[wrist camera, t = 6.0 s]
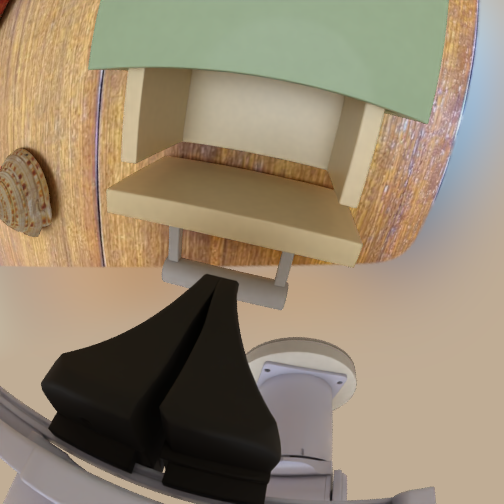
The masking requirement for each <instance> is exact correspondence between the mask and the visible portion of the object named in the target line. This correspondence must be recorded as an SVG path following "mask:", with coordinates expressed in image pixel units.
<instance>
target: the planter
mask: <svg viewBox="0 0 504 504" xmlns="http://www.w3.org/2000/svg"><path fill="white" fill-rule="evenodd" d="M8 2H9V0H0V18H1V16H2V14H3V12H4V10H5V8H6V6H7V4H8Z"/></svg>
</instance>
